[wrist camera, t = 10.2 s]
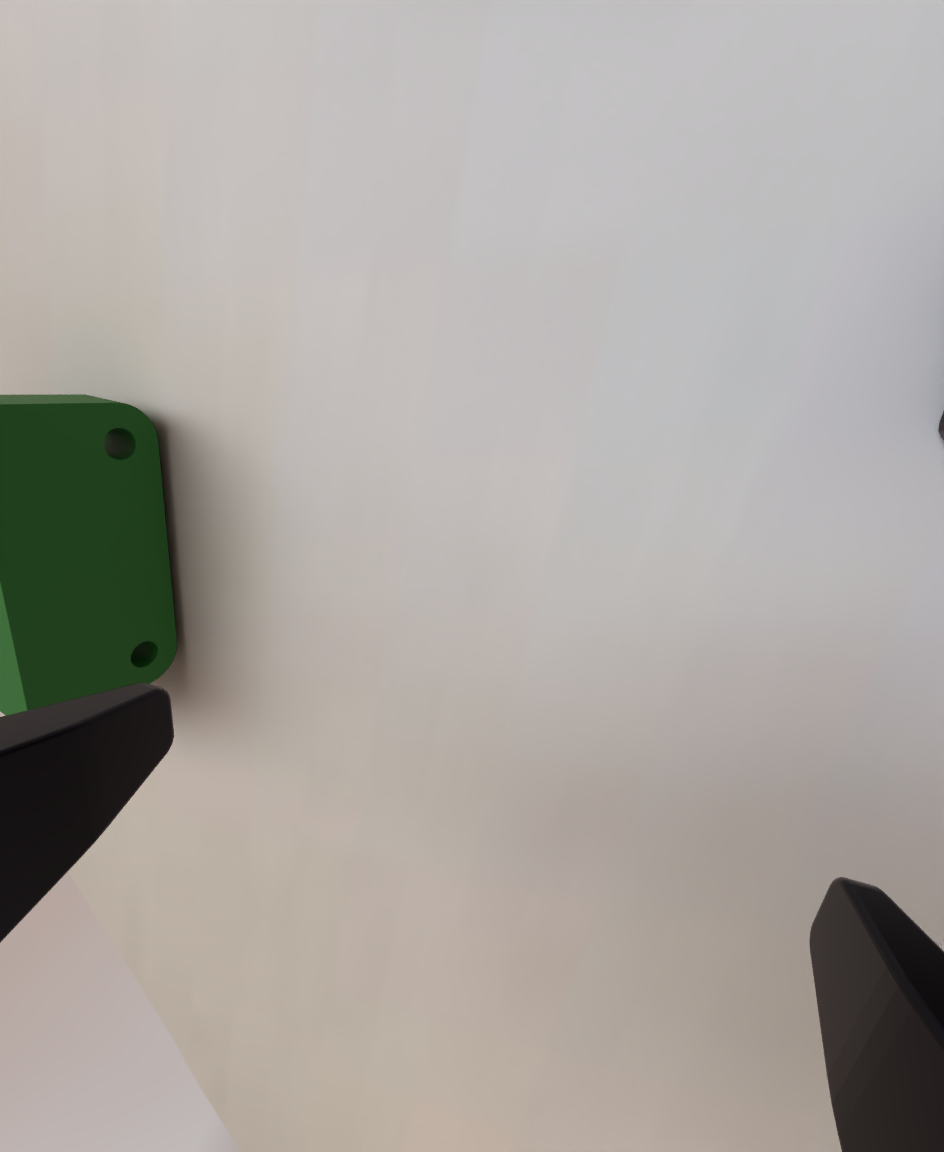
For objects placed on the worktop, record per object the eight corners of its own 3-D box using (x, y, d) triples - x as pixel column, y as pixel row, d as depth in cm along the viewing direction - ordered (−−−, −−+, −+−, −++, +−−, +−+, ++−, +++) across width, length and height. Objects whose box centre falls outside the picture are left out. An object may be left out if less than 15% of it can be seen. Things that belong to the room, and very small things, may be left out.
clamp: (150, 427, 27) (-111, 326, 18) (237, 449, 24) (-19, 343, 16) (75, 672, 27) (-216, 681, 18) (155, 720, 24) (-143, 756, 16)
